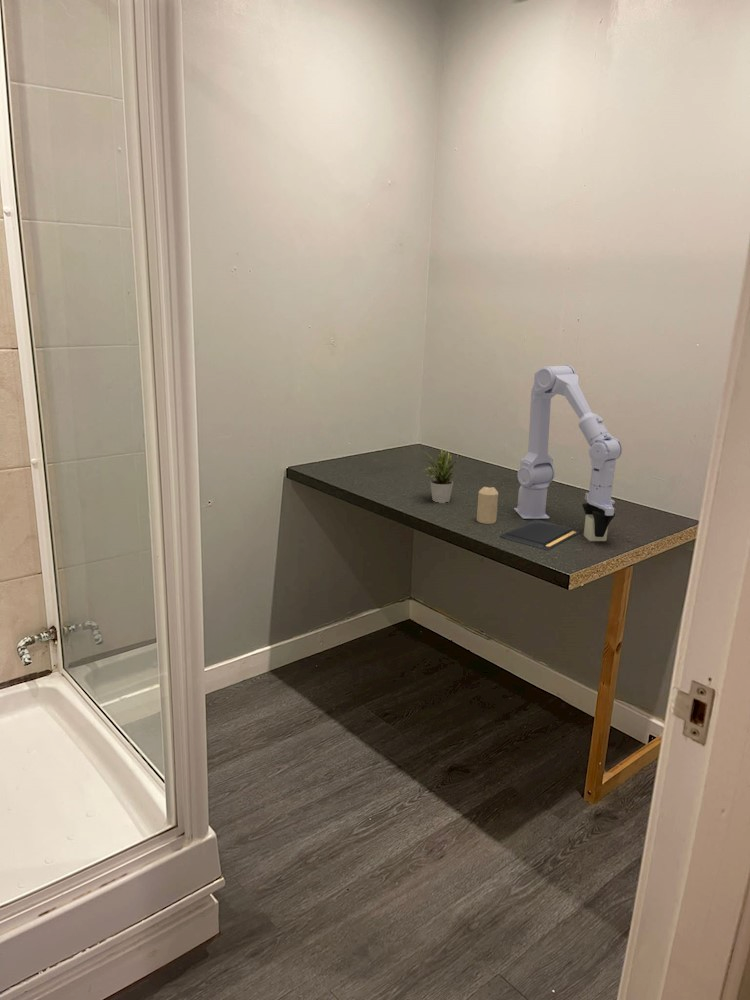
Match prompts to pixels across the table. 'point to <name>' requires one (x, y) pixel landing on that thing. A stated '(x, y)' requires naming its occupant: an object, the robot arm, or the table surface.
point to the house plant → (441, 478)
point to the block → (592, 530)
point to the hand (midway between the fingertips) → (595, 533)
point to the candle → (487, 505)
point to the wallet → (540, 534)
